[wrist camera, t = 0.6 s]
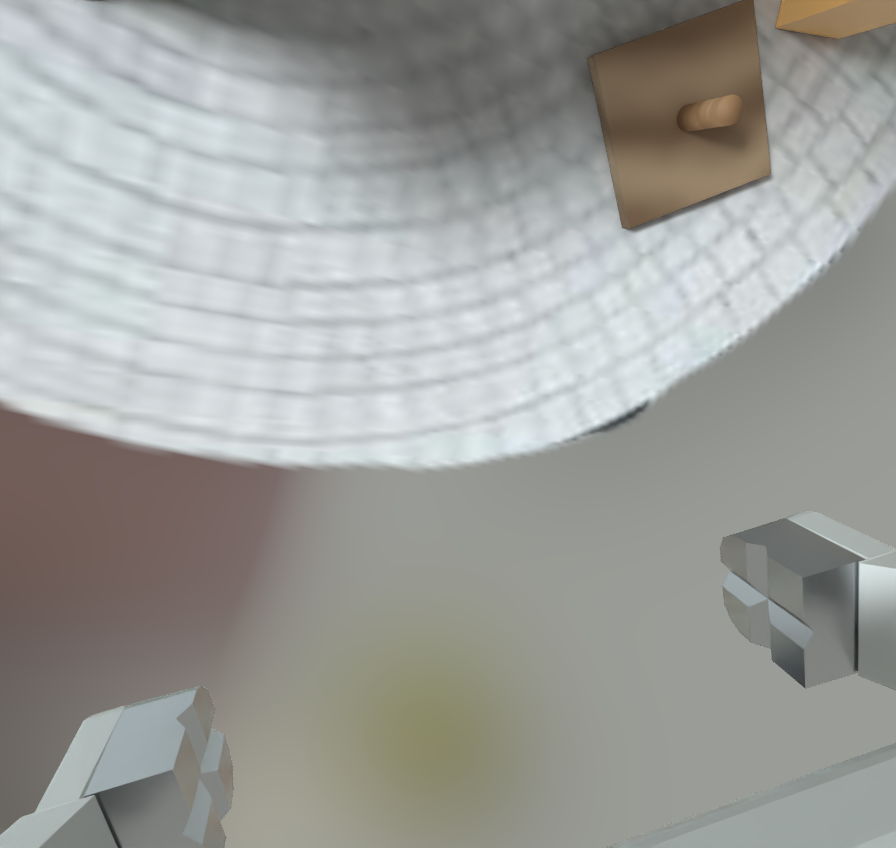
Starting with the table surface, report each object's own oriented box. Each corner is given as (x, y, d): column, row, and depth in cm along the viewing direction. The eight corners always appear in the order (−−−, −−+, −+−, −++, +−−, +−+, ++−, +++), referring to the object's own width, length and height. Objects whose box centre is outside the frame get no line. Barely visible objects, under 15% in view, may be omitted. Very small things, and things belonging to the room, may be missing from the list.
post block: (587, 58, 42) (628, 38, 37) (742, 1, 43) (805, -27, 37) (622, 227, 47) (663, 233, 42) (760, 174, 48) (819, 172, 42)
